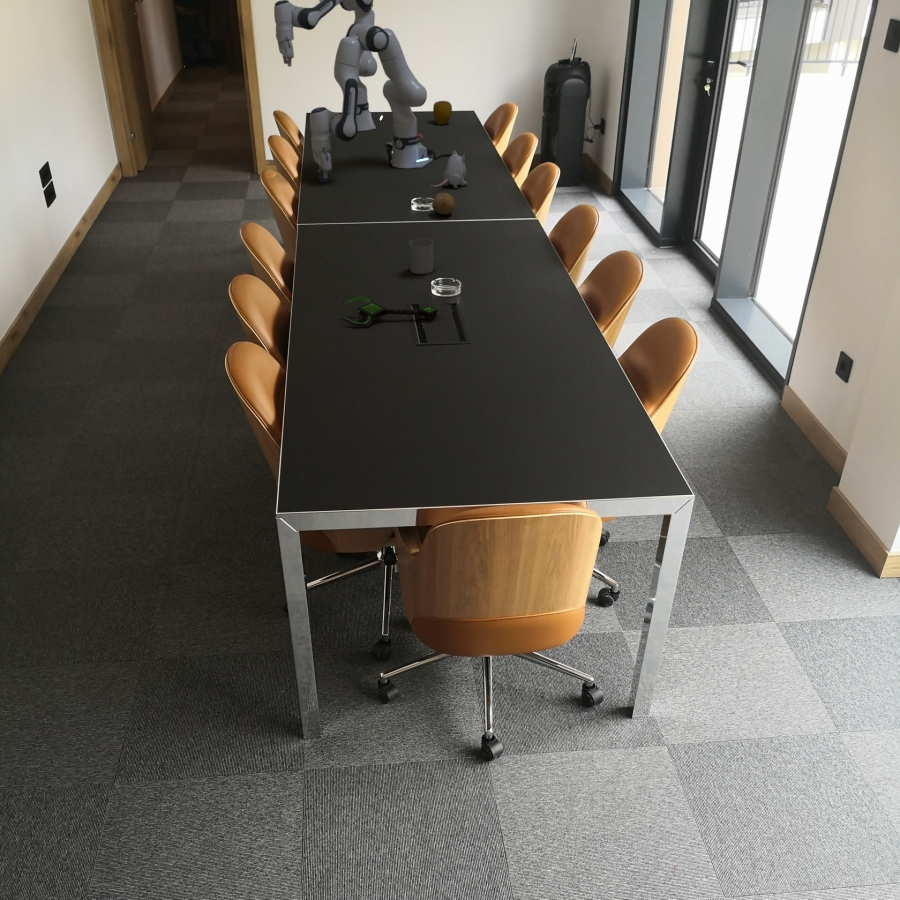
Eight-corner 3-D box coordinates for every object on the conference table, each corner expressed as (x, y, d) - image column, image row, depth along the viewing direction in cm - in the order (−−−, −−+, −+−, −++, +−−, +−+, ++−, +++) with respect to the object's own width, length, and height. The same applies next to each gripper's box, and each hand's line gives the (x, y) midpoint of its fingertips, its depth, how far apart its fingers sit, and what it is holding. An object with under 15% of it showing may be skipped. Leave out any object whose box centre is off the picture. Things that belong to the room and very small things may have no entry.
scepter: (438, 291, 273) (342, 288, 271) (439, 321, 266) (340, 319, 264) (437, 304, 278) (343, 302, 276) (438, 334, 271) (341, 332, 269)
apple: (451, 126, 500) (451, 102, 493) (433, 126, 500) (432, 102, 493) (452, 121, 509) (452, 98, 502) (433, 121, 509) (433, 98, 502)
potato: (453, 208, 369) (453, 189, 365) (456, 218, 357) (456, 199, 353) (431, 208, 368) (430, 189, 364) (432, 218, 356) (432, 199, 352)
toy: (472, 184, 399) (472, 151, 391) (436, 195, 384) (436, 161, 376) (457, 180, 404) (458, 147, 396) (422, 191, 389) (421, 157, 381)
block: (320, 182, 402) (319, 172, 400) (317, 179, 406) (317, 169, 403) (330, 181, 404) (329, 171, 401) (327, 178, 407) (327, 168, 405)
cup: (409, 265, 311) (408, 238, 306) (432, 265, 312) (431, 238, 307) (410, 274, 304) (409, 246, 299) (433, 273, 305) (433, 246, 299)
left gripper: (295, 38, 438) (298, 67, 446) (286, 33, 454) (289, 61, 462) (283, 38, 436) (285, 68, 444) (274, 33, 452) (277, 62, 460)
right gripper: (333, 150, 389) (336, 181, 397) (322, 140, 405) (325, 170, 413) (320, 151, 387) (322, 182, 395) (309, 141, 403) (312, 171, 411)
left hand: (287, 65), depth 453 cm, fingers open, 8 cm apart
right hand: (323, 176), depth 404 cm, fingers closed on block, 4 cm apart
